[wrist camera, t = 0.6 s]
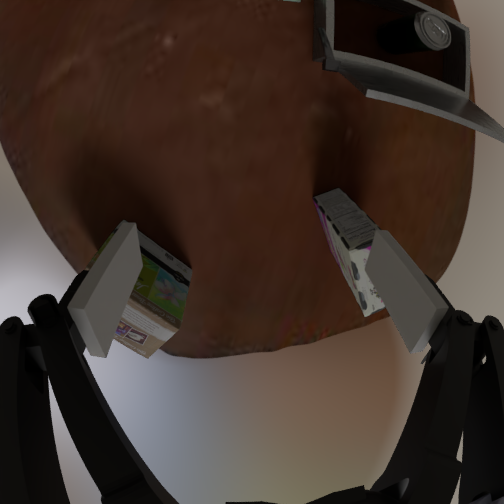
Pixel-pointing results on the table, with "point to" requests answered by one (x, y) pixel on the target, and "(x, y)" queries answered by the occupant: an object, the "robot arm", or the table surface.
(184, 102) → the table surface
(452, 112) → the case
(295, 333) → the table surface
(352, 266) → the candy bar box
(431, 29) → the beer can
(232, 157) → the table surface
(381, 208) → the table surface
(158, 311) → the tea box
